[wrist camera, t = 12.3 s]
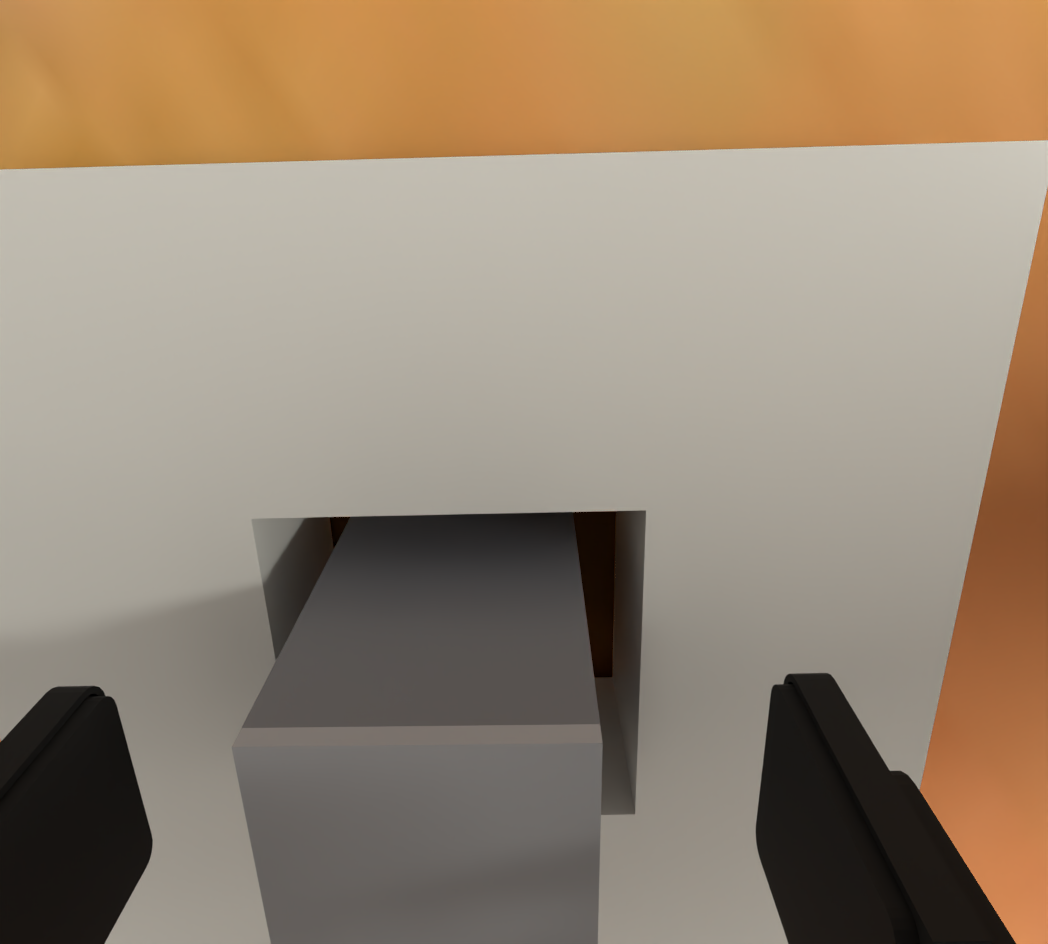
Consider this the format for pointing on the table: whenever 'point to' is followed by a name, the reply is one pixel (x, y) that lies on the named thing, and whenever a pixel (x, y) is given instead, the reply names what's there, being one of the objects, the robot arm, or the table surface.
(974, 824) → the table surface
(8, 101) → the table surface
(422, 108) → the table surface
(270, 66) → the table surface
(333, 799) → the plug
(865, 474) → the socket housing
